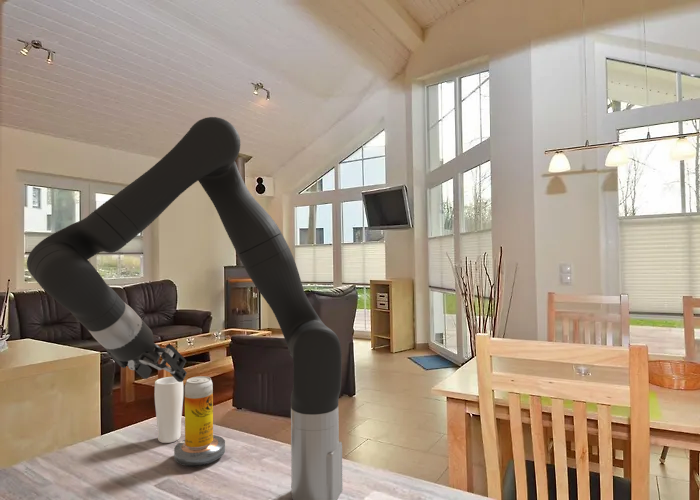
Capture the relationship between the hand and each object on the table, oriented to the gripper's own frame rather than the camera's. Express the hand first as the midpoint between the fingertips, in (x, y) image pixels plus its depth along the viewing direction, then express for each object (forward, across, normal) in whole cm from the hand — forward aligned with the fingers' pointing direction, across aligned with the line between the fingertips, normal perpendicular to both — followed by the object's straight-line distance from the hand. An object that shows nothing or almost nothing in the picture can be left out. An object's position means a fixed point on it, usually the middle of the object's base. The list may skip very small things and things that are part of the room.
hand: (165, 376), depth 88 cm
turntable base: (+24, 0, +8) cm, 25 cm away
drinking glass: (+28, +14, +3) cm, 32 cm away
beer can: (+21, 0, +6) cm, 22 cm away
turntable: (+24, 0, +8) cm, 25 cm away
